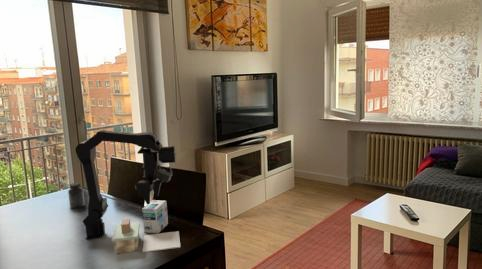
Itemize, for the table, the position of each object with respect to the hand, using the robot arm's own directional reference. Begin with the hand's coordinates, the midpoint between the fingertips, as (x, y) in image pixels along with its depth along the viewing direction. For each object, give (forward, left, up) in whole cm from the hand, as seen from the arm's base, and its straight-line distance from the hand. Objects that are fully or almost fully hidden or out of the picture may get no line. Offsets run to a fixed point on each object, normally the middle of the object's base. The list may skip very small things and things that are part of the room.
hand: (152, 200), depth 152 cm
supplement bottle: (-39, +42, -14) cm, 59 cm away
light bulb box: (0, +3, -14) cm, 14 cm away
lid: (-10, -10, -10) cm, 17 cm away
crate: (-10, -10, -14) cm, 20 cm away
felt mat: (+3, -11, -14) cm, 18 cm away
